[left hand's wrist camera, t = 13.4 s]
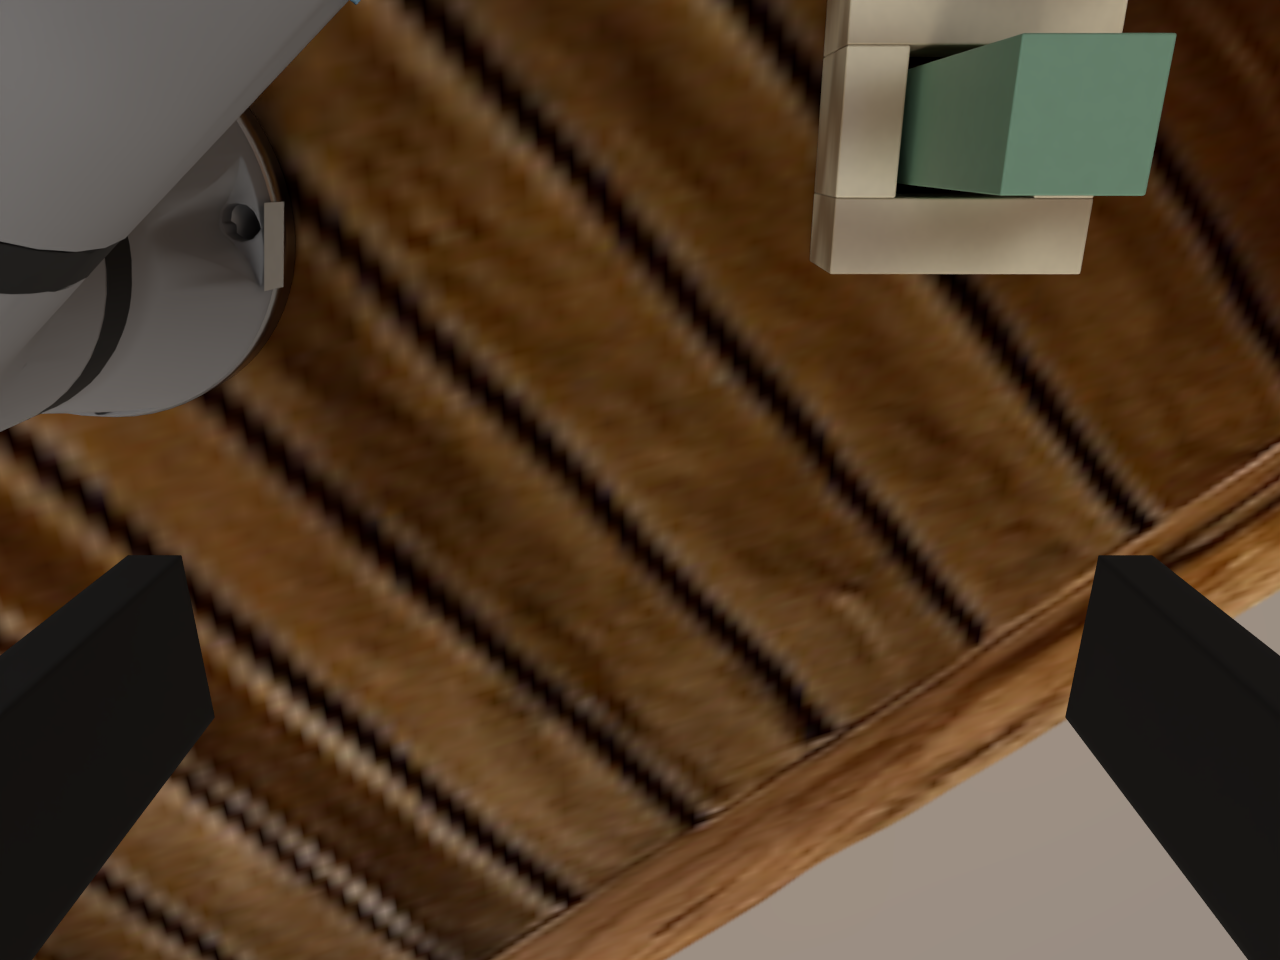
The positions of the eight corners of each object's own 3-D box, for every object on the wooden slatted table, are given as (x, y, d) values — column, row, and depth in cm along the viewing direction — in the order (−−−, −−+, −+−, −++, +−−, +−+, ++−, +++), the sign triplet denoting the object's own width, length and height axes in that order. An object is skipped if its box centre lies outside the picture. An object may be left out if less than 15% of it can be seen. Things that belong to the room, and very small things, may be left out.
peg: (881, 181, 34) (999, 195, 23) (890, 74, 33) (1023, 32, 21) (978, 181, 34) (1146, 195, 23) (992, 74, 32) (1178, 32, 21)
